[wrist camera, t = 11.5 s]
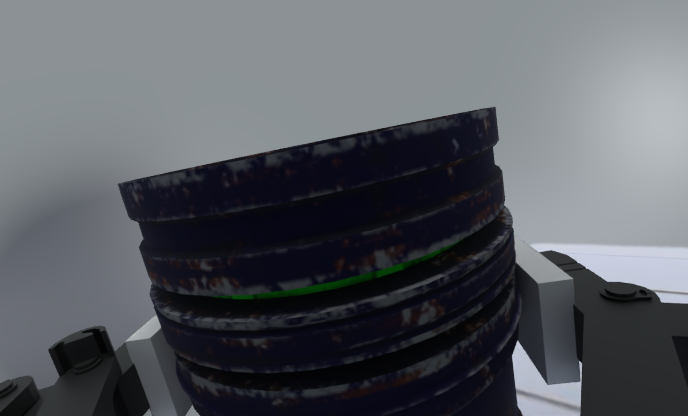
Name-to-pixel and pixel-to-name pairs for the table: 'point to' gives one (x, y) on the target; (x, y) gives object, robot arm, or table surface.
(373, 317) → the dark blue cylinder
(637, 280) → the table surface
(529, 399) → the table surface
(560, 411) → the table surface
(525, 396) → the table surface
